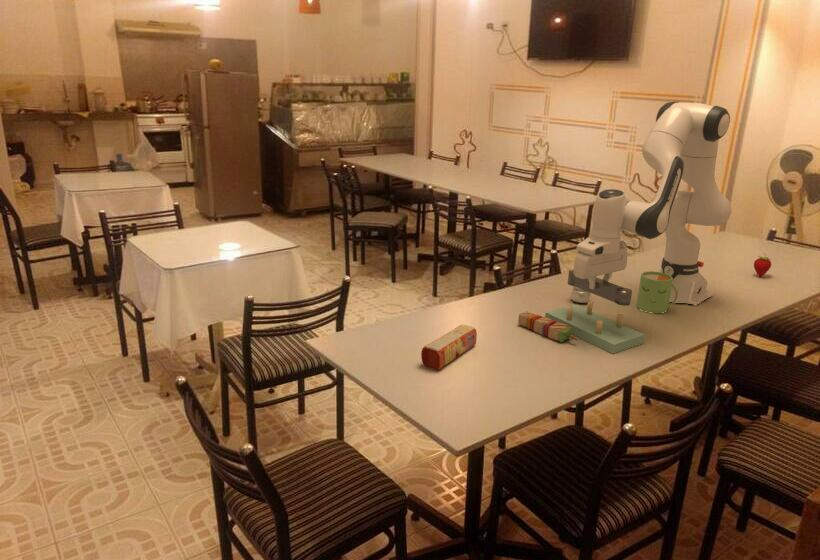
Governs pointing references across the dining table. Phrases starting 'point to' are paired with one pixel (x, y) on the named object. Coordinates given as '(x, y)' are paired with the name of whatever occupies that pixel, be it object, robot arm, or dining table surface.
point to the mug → (655, 292)
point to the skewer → (546, 326)
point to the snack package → (448, 347)
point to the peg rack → (597, 328)
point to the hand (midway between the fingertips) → (598, 287)
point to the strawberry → (762, 265)
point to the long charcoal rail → (602, 289)
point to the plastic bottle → (580, 295)
